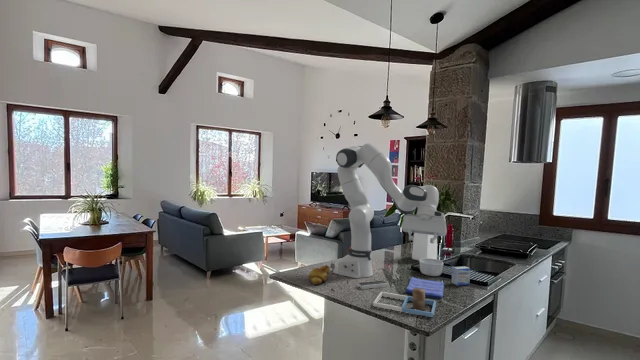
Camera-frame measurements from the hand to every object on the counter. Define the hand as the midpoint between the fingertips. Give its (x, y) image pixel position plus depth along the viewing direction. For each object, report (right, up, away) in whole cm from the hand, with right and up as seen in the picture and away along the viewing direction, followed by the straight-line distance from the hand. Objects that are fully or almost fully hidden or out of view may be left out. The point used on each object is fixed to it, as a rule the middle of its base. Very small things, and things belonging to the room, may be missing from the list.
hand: (421, 241), depth 154 cm
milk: (+23, -25, +70) cm, 78 cm away
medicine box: (+27, -27, +22) cm, 44 cm away
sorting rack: (-10, -27, -8) cm, 29 cm away
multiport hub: (-20, -26, +15) cm, 36 cm away
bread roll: (-48, -25, +21) cm, 58 cm away
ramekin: (+17, -26, +40) cm, 51 cm away
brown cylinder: (-4, -27, -11) cm, 29 cm away
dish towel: (+6, -27, +14) cm, 31 cm away
